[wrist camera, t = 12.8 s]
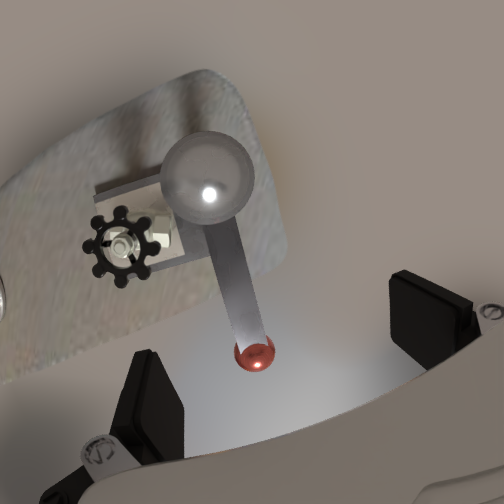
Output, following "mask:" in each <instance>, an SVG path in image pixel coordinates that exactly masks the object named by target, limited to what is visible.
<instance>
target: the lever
mask: <svg viewBox="0 0 504 504" xmlns="http://www.w3.org/2000/svg"><path fill="white" fill-rule="evenodd" d="M202 136H216V137H220V138H223V139H226V140H228V141H230V142H231V143H233V144H234V145H235V146H236V147H237V148H238V149H239V150H240V151H241V152H242V154H243V155H244V157H245V159H246V161H247V164H248V167H249V176H250V178H249V185H248V189H247V192H246V194H245V196H244V198H243V199H242V201H241V202H240V203H239V204H238V205H237V206H236V207H235V208H234V209H233V210H231V211H230V212H228V213H226V214H224V215H222V216H219V217H214V218H200V217H196V216H193V215H190V214H188V213H186V212H185V211H183V210H182V209H181V208H180V207H178V205H177V204H176V203H175V202H174V201H173V199H172V197H171V195H170V193H169V191H168V187H167V180H166V175H167V168H168V165H169V162H170V160H171V158H172V156H173V155H174V153H175V152H176V151H177V150H178V148H179V147H181V146H182V145H183V144H184V143H186V142H188V141H189V140H192V139H194V138H197V137H202ZM254 179H255V177H254V167H253V164H252V160H251V158H250V156H249V154H248V153H247V151H246V150H245V148H244V147H243V146H242V145H241V144H240V143H239V142H238V141H236V140H235V139H234V138H232V137H230V136H228V135H226V134H223V133H220V132H215V131H201V132H196V133H193V134H190V135H188V136H186V137H184V138H182V139H181V140H179V141H178V142H177V143H176V144H174V146H173V147H172V148H171V149H170V150H169V152H168V153H167V155H166V156H165V158H164V161H163V163H162V166H161V171H160V186H161V191H162V194H163V197H164V199H165V201H166V203H167V204H168V205H169V207H170V208H171V209H172V210H173V211H174V212H175V213H176V214H177V215H178V216H180V217H181V218H183V219H185V220H187V221H189V222H192V223H196V224H202V227H203V231H204V234H205V238H206V242H207V245H208V249H209V252H210V256H211V259H212V263H213V266H214V270H215V273H216V276H217V280H218V283H219V287H220V290H221V293H222V296H223V300H224V303H225V306H226V309H227V313H228V316H229V319H230V323H231V326H232V329H233V332H234V335H235V338H236V341H237V342H236V344H235V347H234V356H235V360H236V362H237V363H238V365H239V366H240V367H242V368H243V369H245V370H247V371H250V372H259V371H262V370H264V369H266V368H268V367H269V366H270V365H271V363H272V362H273V360H274V357H275V347H274V344H273V342H272V340H271V339H270V338H269V337H268V336H266V335H265V331H264V328H263V324H262V320H261V316H260V312H259V308H258V304H257V300H256V297H255V293H254V289H253V285H252V281H251V277H250V273H249V270H248V266H247V262H246V258H245V254H244V250H243V246H242V242H241V238H240V235H239V231H238V227H237V223H236V219H235V215H236V214H237V213H238V212H239V211H241V209H242V208H243V207H244V206H245V205H246V203H247V202H248V200H249V198H250V196H251V193H252V191H253V186H254Z"/></svg>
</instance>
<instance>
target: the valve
mask: <svg viewBox="0 0 504 504" xmlns="http://www.w3.org/2000/svg"><path fill="white" fill-rule="evenodd" d="M128 213H129V210H128V208H127V207H126V206H125V205H120V206H117V207H115V208H114V210H113V216H112V218H111V221H110V222H106V221H105V220H104V218H105V217H104V216H103V215H97V216H94V217H93V218H92V219H91V227H92V228H93V229H94V230H96V231H97V235H96V238H95V240H92V238H90V239H88V240H86V241H85V242H84V243H83V245H82V249H83V251H84V252H85V253H86V254H91V253H94V254H95V255H96V257H97V260H98V263H97V264H96V265H94V266H93V268H92V273H93V275H94V276H95V277H97V278H101V277H103V276H104V275H105V274H106V272H110V273H112V274H114V276H115V279H114V283H115V285H116V286H117V287H118V288H125V287H126V286H127V284H128V282H129V278H127V276H128V275H129V274H131V273H136V274H137V276H138V278H139V279H141V280H146V279H148V278H149V276H150V274H151V272H152V270H151V267H150V266H146V265H145V263H144V261H145V258H146V256H148V255H149V256H152V257H154V256H157V255H158V254H159V252H160V251H161V247H165V248H168V247H170V245H171V237H172V216H171V215H157V216H155V215H153V214H152V213H150V212H146V211H138V212H134V213H132V214H128ZM109 230H110V240H103V239H104V236H105V234H106V233H107V232H108V231H109ZM105 247H110V249H111V251H112V253H113V255H114V256H115V257H118V258H126V257H128V258H129V260H130V263H131V265H130V266H127V267H118V266H115V265H113V264H112V263H110V262H109V261H108V260H107V258H106V257H105V255H104V252H103V248H105ZM134 250H140V254H139V257H138V259H137V258H136V256H135V254H134V252H133V251H134Z"/></svg>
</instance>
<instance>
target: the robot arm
mask: <svg viewBox="0 0 504 504" xmlns="http://www.w3.org/2000/svg"><path fill="white" fill-rule="evenodd" d="M389 297H390V329H391V332H390V333H391V338H392V340H393V342H394V343H395V344H397V345H398V346H399V347H400V348H401V349H403V350H404V351H405V352H406V353H407V354H408V355H410V356H411V357H412V358H413V359H414V360H415V361H417V362H418V363H419V364H420V365H422V367H424V368H425V369H426V370H427V371H426V372H425V373H423V374H421V375H419V376H418V377H416V378H414V379H412V380H410V381H409V382H407V383H405V384H403V385H401V386H399V387H397V388H395V389H394V390H392V391H389V392H388V393H386V394H384V395H381V396H379V397H377V398H375V399H373V400H371V401H369V402H367V403H365V404H363V405H360V406H358V407H356V408H354V409H351V410H349V411H347V412H344V413H342V414H339V415H337V416H335V417H332V418H329V419H327V420H325V421H322V422H319V423H316V424H314V425H311V426H308V427H305V428H303V429H300V430H297V431H294V432H291V433H288V434H285V435H282V436H279V437H275V438H272V439H268V440H265V441H261V442H257V443H254V444H250V445H246V446H242V447H239V448H234V449H229V450H225V451H220V452H216V453H211V454H205V455H200V456H195V457H189V458H184V407H183V404H182V402H181V400H180V398H179V396H178V394H177V392H176V390H175V389H174V387H173V385H172V383H171V381H170V379H169V377H168V375H167V373H166V371H165V369H164V366H163V364H162V362H161V360H160V358H159V356H158V354H157V353H156V352H152V351H151V350H150V349H147V350H142V351H137V352H135V354H134V356H133V359H132V363H131V366H130V369H129V372H128V375H127V378H126V381H125V384H124V388H123V390H122V391H121V394H120V398H119V401H118V404H117V408H116V411H115V415H114V418H113V422H112V425H111V429H110V433H109V435H99V436H96V437H94V438H92V439H90V440H89V441H88V442H87V443H86V444H85V445H84V446H83V448H82V450H81V453H80V457H81V461H82V463H83V466H81V467H80V468H79V469H77V470H76V471H74V472H73V473H71V474H70V475H68V476H67V477H65V478H64V479H63V480H61V481H59V482H58V483H57V484H55V485H54V486H52V487H50V488H49V489H48V490H46V491H45V492H44V493H43V495H42V496H41V498H40V501H39V504H504V304H501V303H499V302H485V303H482V304H480V305H479V306H478V307H477V309H476V312H474V311H473V302H471V301H470V300H468V299H466V298H463V297H462V296H459V295H458V294H455V293H453V292H451V291H449V290H447V289H445V288H443V287H441V286H439V285H437V284H435V283H433V282H431V281H428V280H426V279H424V278H422V277H420V276H418V275H416V274H414V273H411V272H409V271H407V270H402V271H399V272H397V273H394V274H392V276H391V279H390V280H389ZM5 305H6V301H5V293H4V288H3V285H2V282H1V279H0V322H1V320H2V319H3V316H4V313H5Z"/></svg>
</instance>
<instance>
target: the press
mask: <svg viewBox="0 0 504 504" xmlns="http://www.w3.org/2000/svg"><path fill="white" fill-rule="evenodd" d="M249 178H250V176H249V167H248V164H247V161H246V159H245V157H244V155H243V154H242V152H241V151H240V150H239V149H238V148H237V147H236V146H235V145H234V144H233V143H231V142H230V141H228V140H226V139H223V138H220V137H216V136H202V137H197V138H194V139H192V140H189V141H188V142H186V143H184V144H183V145H182V146H181V147H179V148H178V150H177V151H176V152H175V153H174V155H173V156H172V158H171V160H170V162H169V165H168V168H167V175H166V180H167V187H168V191H169V193H170V195H171V197H172V199H173V201H174V202H175V203H176V204H177V205H178V207H180V208H181V209H182V210H183V211H185V212H186V213H188V214H190V215H193V216H196V217H200V218H214V217H219V216H222V215H224V214H226V213H228V212H230V211H231V210H233V209H234V208H235V207H236V206H237V205H238V204H239V203H240V202H241V201H242V199H243V198H244V196H245V194H246V192H247V189H248V185H249ZM93 198H94V201H95V206H96V210H97V214H98V215H103V216H104V217H105V218H104V220H105V221H106V222H110V221H111V218H112V216H113V210H114V208H115V207H117V206H120V205H125V206H126V207H127V208H128V210H129V213H128V214H132V213H134V212H138V211H146V212H150V213H152V214H153V215H155V216H157V215H171V216H172V237H171V245H170V247H168V248H165V247H161V251H160V252H159V254H158V255H157V256H154V257H152V256H149V255H148V256H146V258H145V261H144V263H145V265H146V266H150V267H151V270H152V272H155V271H159V270H162V269H166V268H169V267H173V266H176V265H180V264H183V263H187V262H190V261H194V260H197V259H201V258H204V257H208V256H210V252H209V249H208V245H207V242H206V238H205V234H204V231H203V227H202V224H196V223H192V222H189V221H187V220H185V219H183V218H181V217H180V216H178V215H177V214H176V213H175V212H174V211H173V210H172V209H171V208H170V207H169V205H168V204H167V203H166V201H165V199H164V197H163V194H162V191H161V186H160V173H159V174H156V175H153V176H150V177H146V178H143V179H140V180H137V181H134V182H131V183H128V184H125V185H122V186H119V187H116V188H113V189H111V190H108V191H105V192H102V193H99V194H97V195H94V196H93ZM104 238H105V240H110V230H109V231H108V232H107V233H106V234H105V236H104ZM108 250H109V253H110V256H111V259H112V262H113V265H115V266H118V267H127V266H130V265H131V263H130V260H129V258H128V257H126V258H118V257H115V256H114V255H113V253H112V251H111V249H110V247H108ZM133 252H134V254H135V256H136V258H137V259H138V257H139V254H140V250H134V251H133ZM152 272H151V273H152ZM134 277H138V276H137V274H136V273H131V274H129V275H128V276H127V278H129V279H131V278H134Z"/></svg>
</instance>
